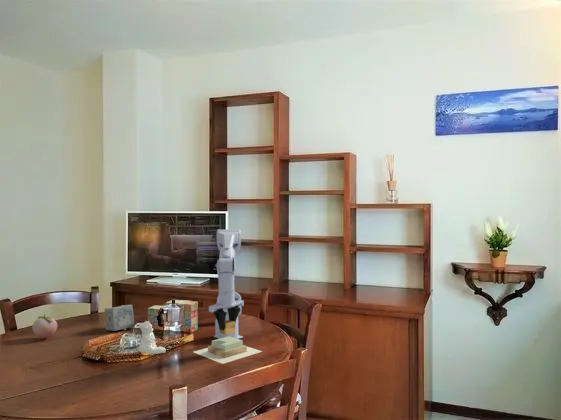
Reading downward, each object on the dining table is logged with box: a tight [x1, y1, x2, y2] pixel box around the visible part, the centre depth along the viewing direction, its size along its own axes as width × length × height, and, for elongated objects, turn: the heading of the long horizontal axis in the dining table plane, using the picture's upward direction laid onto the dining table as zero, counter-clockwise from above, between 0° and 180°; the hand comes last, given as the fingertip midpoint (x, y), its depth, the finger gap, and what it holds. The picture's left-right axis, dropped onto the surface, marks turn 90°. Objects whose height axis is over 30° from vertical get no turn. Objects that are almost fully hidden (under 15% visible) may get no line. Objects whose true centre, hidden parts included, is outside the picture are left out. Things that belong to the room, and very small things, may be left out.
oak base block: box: [207, 344, 248, 358], centre depth 169 cm, size 10×10×2 cm
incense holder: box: [104, 304, 135, 332], centre depth 202 cm, size 10×8×10 cm
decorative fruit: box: [31, 314, 58, 339], centre depth 189 cm, size 9×8×10 cm
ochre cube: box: [220, 320, 235, 335], centre depth 169 cm, size 4×4×4 cm
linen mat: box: [193, 346, 263, 365], centre depth 169 cm, size 18×18×1 cm
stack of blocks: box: [147, 299, 199, 333], centre depth 202 cm, size 21×6×12 cm, turn 72°
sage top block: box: [211, 336, 244, 351], centre depth 169 cm, size 8×8×2 cm
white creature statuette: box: [137, 320, 166, 356], centre depth 170 cm, size 10×9×12 cm
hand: (227, 328), depth 169 cm, fingers closed on ochre cube, 4 cm apart
